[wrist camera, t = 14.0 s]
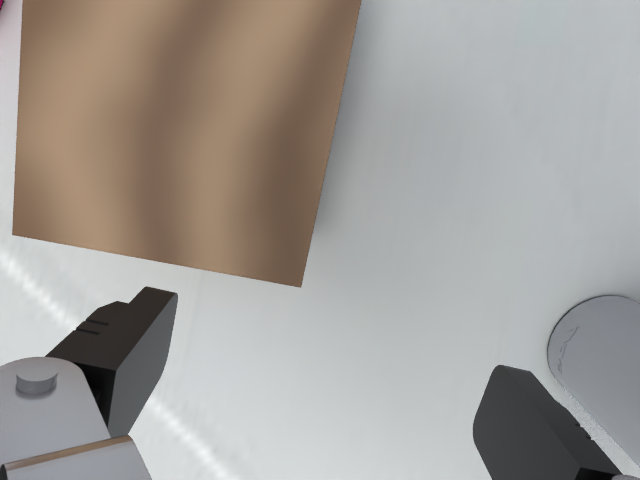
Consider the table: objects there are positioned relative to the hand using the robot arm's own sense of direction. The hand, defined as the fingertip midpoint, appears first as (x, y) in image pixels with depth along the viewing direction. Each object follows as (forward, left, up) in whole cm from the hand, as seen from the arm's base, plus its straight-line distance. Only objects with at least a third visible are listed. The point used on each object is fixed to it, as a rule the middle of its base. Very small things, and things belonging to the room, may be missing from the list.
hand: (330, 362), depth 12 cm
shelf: (+8, -5, -25) cm, 26 cm away
